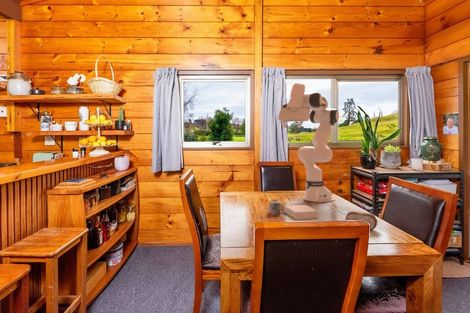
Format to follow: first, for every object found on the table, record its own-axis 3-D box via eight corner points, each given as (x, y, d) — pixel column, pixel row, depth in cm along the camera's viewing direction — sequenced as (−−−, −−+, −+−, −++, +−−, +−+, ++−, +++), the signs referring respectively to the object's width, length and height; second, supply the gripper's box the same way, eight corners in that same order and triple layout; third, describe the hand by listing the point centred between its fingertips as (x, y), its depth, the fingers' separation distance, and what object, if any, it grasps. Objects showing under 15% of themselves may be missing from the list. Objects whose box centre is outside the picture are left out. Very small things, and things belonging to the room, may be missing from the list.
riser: (305, 211, 195) (305, 204, 195) (317, 217, 179) (318, 210, 179) (284, 212, 192) (284, 205, 191) (295, 219, 176) (295, 212, 176)
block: (277, 212, 191) (277, 201, 191) (280, 214, 186) (280, 203, 186) (269, 212, 190) (269, 201, 190) (272, 215, 185) (272, 203, 185)
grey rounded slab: (377, 230, 156) (377, 214, 156) (376, 232, 153) (376, 215, 153) (345, 226, 164) (346, 210, 163) (344, 227, 161) (345, 211, 160)
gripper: (312, 108, 194) (309, 129, 192) (283, 109, 206) (279, 129, 204) (308, 104, 189) (305, 125, 187) (279, 105, 202) (275, 126, 199)
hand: (291, 127), depth 195 cm, fingers open, 8 cm apart
